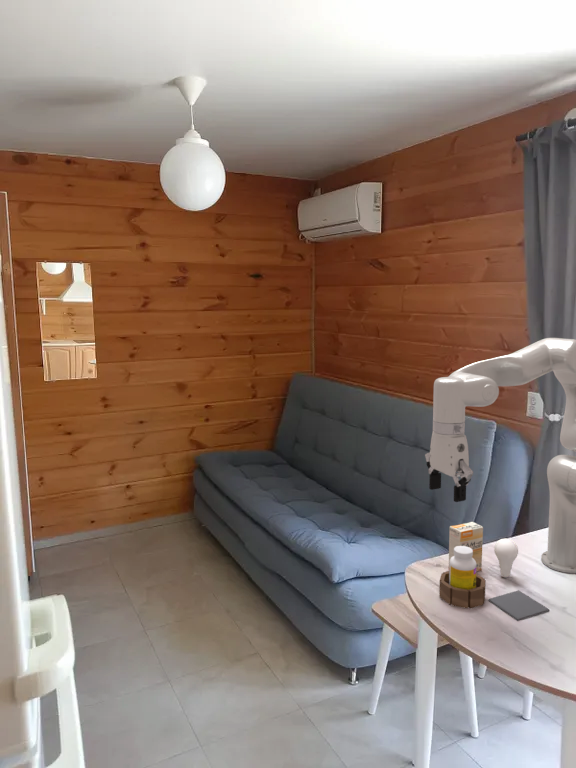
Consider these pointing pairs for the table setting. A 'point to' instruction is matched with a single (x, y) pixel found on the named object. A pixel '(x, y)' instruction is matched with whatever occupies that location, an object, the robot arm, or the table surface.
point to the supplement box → (467, 540)
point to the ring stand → (462, 593)
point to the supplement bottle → (462, 568)
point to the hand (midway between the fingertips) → (447, 494)
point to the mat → (518, 605)
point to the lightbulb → (506, 555)
